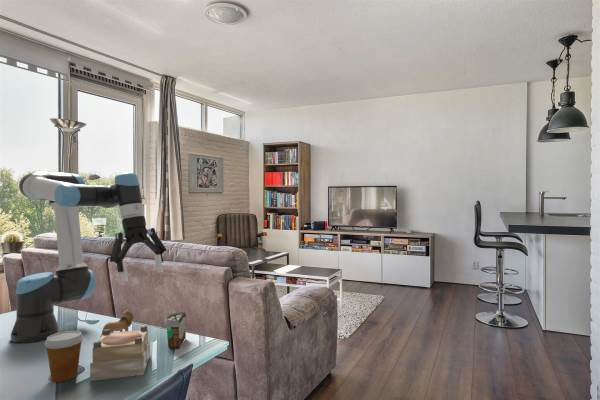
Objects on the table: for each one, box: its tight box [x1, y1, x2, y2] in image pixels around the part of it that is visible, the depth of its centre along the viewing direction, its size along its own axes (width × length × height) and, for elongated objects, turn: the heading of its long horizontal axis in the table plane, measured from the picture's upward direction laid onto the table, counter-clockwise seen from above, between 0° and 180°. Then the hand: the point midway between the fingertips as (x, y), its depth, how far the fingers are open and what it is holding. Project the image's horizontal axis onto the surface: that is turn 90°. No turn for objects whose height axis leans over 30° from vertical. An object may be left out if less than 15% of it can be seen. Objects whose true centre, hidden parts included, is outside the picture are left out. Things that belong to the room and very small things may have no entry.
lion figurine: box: [99, 309, 134, 339], centre depth 139 cm, size 15×5×9 cm, turn 161°
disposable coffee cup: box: [44, 330, 84, 383], centre depth 108 cm, size 10×10×12 cm
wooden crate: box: [89, 325, 151, 382], centre depth 114 cm, size 14×14×10 cm
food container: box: [163, 310, 187, 350], centre depth 133 cm, size 12×6×10 cm, turn 5°
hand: (143, 276), depth 130 cm, fingers open, 13 cm apart
